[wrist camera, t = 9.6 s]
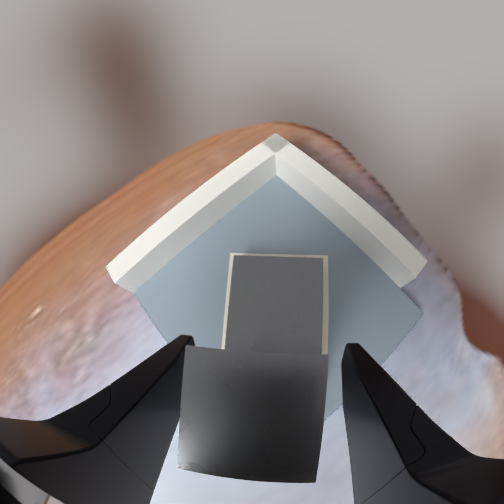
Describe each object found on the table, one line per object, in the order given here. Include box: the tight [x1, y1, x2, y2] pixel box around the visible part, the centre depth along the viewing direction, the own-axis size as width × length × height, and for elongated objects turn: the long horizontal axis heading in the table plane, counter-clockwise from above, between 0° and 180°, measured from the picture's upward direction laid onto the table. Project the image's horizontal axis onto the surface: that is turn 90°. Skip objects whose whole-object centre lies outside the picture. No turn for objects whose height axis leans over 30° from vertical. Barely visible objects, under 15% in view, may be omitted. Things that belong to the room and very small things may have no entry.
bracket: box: [178, 255, 329, 483], centre depth 11 cm, size 9×6×12 cm, turn 176°
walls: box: [106, 133, 428, 293], centre depth 17 cm, size 16×14×3 cm
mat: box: [134, 175, 423, 420], centre depth 17 cm, size 14×15×1 cm
